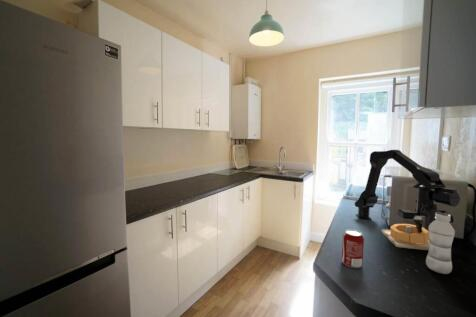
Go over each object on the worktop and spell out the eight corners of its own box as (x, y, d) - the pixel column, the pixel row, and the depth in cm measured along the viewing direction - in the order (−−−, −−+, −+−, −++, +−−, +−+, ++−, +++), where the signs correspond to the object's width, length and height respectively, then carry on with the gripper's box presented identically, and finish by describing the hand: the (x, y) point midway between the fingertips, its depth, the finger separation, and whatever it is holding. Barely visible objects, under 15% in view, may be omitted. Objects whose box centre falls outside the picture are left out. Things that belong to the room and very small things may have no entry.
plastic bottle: (450, 279, 71) (455, 219, 69) (423, 269, 76) (427, 213, 74) (452, 272, 75) (458, 215, 73) (427, 263, 80) (431, 210, 78)
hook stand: (381, 231, 108) (381, 218, 107) (418, 235, 104) (419, 222, 103) (396, 246, 92) (397, 232, 92) (441, 251, 89) (442, 236, 88)
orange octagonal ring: (386, 230, 106) (386, 223, 105) (417, 231, 103) (417, 223, 102) (399, 242, 93) (399, 235, 93) (435, 243, 90) (434, 235, 90)
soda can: (365, 271, 75) (367, 237, 74) (344, 268, 76) (345, 235, 75) (358, 260, 82) (360, 229, 81) (339, 258, 83) (340, 227, 82)
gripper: (411, 203, 90) (408, 240, 91) (466, 207, 85) (462, 245, 87) (398, 196, 100) (395, 229, 102) (446, 199, 96) (443, 233, 97)
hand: (423, 234), depth 97 cm, fingers closed on orange octagonal ring, 2 cm apart
